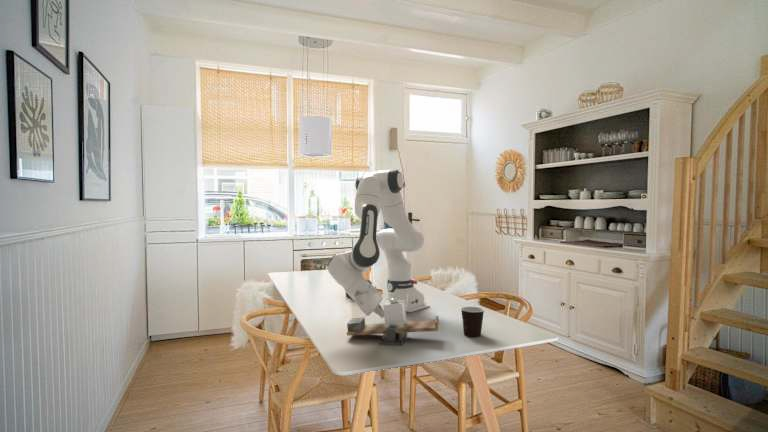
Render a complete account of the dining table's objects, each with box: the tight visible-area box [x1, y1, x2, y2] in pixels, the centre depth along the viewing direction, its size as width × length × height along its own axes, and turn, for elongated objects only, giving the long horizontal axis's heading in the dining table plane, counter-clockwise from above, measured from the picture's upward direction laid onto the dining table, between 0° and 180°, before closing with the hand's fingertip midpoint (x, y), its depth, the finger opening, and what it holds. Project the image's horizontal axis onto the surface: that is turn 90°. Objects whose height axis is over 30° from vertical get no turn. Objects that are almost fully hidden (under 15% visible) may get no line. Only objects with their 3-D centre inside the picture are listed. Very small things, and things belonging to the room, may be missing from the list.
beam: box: [346, 315, 440, 337], centre depth 159 cm, size 34×10×4 cm, turn 81°
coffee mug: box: [461, 306, 485, 338], centre depth 164 cm, size 12×9×10 cm
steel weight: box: [382, 298, 407, 329], centre depth 158 cm, size 7×7×10 cm
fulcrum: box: [379, 328, 407, 347], centre depth 159 cm, size 8×16×6 cm, turn 171°
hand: (384, 316), depth 159 cm, fingers closed, pressing on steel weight
